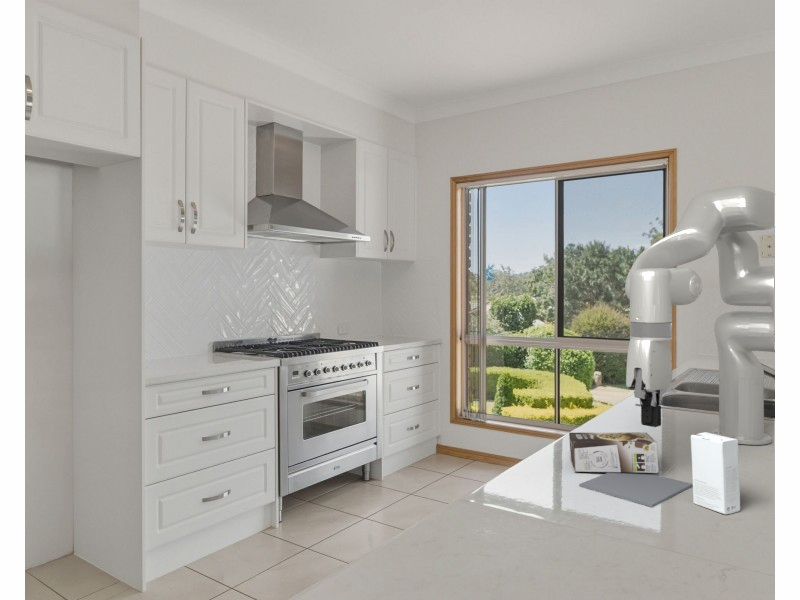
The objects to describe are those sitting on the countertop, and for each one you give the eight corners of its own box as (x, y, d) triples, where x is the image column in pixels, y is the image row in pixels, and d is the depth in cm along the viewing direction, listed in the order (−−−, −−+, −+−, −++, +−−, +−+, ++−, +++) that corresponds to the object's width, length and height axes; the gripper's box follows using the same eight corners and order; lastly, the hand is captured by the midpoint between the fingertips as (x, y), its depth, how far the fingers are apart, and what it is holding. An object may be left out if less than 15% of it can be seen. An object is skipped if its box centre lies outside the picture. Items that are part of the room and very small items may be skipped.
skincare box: (741, 511, 94) (741, 438, 94) (724, 516, 92) (723, 442, 92) (707, 499, 99) (707, 430, 99) (690, 503, 97) (689, 433, 97)
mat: (622, 468, 117) (622, 466, 117) (692, 486, 106) (692, 484, 106) (579, 486, 107) (579, 484, 107) (651, 507, 96) (651, 504, 96)
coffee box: (657, 441, 111) (572, 441, 114) (659, 474, 111) (574, 473, 114) (646, 431, 120) (568, 431, 123) (648, 461, 120) (569, 460, 123)
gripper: (650, 329, 118) (650, 416, 118) (612, 332, 108) (613, 428, 108) (687, 330, 112) (687, 422, 112) (651, 334, 102) (651, 435, 102)
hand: (651, 425), depth 110 cm, fingers closed
